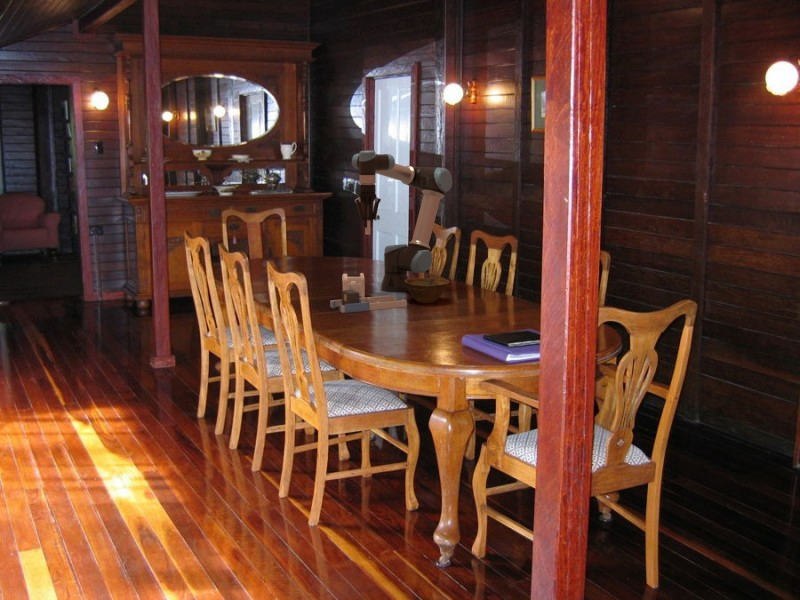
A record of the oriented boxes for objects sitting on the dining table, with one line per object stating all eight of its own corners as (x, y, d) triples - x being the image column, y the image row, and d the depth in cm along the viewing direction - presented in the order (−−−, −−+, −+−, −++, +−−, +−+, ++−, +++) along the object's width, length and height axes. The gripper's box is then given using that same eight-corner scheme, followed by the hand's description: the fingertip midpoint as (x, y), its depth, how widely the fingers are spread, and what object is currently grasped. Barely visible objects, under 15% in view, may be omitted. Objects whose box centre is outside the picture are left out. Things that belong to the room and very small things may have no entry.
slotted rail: (392, 301, 442) (392, 293, 441) (407, 307, 428) (407, 299, 427) (330, 306, 428) (330, 298, 428) (343, 313, 414) (343, 304, 414)
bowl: (456, 299, 448) (457, 278, 446) (438, 307, 428) (439, 286, 426) (415, 295, 457) (415, 275, 455) (396, 303, 437) (396, 282, 435)
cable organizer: (364, 301, 443) (364, 277, 441) (342, 301, 442) (342, 277, 440) (363, 295, 457) (363, 272, 455) (342, 295, 457) (342, 272, 454)
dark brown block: (352, 306, 430) (352, 289, 428) (359, 310, 422) (359, 292, 420) (341, 307, 427) (341, 290, 426) (349, 311, 420) (349, 293, 418)
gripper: (376, 183, 437) (377, 232, 441) (351, 183, 431) (352, 234, 436) (383, 184, 430) (383, 234, 434) (357, 184, 424) (358, 235, 429)
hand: (367, 234), depth 435 cm, fingers closed
